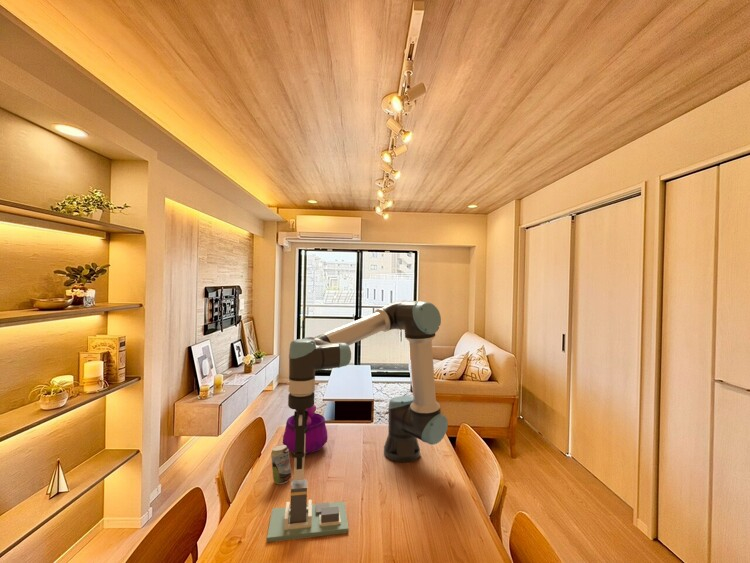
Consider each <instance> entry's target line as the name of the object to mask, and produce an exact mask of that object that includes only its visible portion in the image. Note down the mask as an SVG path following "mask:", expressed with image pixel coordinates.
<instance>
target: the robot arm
mask: <svg viewBox="0 0 750 563" xmlns="http://www.w3.org/2000/svg"><path fill="white" fill-rule="evenodd" d="M441 324H442V317H441V313H440V311H439V308H438V307H437V306H436V305H435V304H433V303H431V302H428V301H423V300H420V301H419V300H397V301H396V302H392V303H390V304H387V305H385V306H383V307H378V309H376V310H375V311H374V312H373V313H372V314H369V315H366V316H365V317H364V316H363V317H362V318H359V319H356V320H354V321H352V322H350V323H346V324H344V325H342V326H339V327H336V328H335V329H332V330H329V331H327V332H325V333H323V334H320V335H317V336H314V337H312V336H308V337H303V338H298V339H294V340H292V341H291V342H290V344H289V351H288V381H286V385H287V386H288V396H287V397H288V399H287V403H288V405H287V406H288V408H289V409H291V410H294V413H293V415H294V421H295V423H294V430H295V431H296V432H295V453H293V454H291V458H294V460H293V480H304V479H305V456H306V453H305V438H306V434H305V433H308V429H307V420H308V411H306V409H309V408H311V407H313V406H314V405H315V390H316V371H321V370H322V371H323V370H330V369H337V368H338V369H339V368H341V367H347V366H348V365H349V364H350V363H351V359H352V351H351V347H350V346H351V345H353V344H355V343H358V342H360V341H363V340H364V339H367V338H369V337H371V336H374V335H375V334H376V335H377V334H378V333H380V332H389V331H390V330H404V338H405V339H406V340H407V341H408V343H409V355H410V369H411V383H412V394H413V396H412V395H411V396H409V395H404V396H403V395H401V396H395V397H392V398H391V399H390V400H389V402H388V432H387V437H386V438H385V439H386V440H385V443H384V444H383V445H384V446H383V454H384V456H385V457H386V458H387V459H389V460H391V461H393V462H397V463H411V462H414V461H416V460H418V459H419V458H420V456H421V448H420V444H419V441H418V440H420V441H422V442H423V443H424V444H425V443H427V444H428V445H432V446H433V445H437V444H439V443H440V442H441V441H442V440H443V438H445V435H446V434H447V431H448V427H449V426H448V425H449V421H448V418H447V417H446V416H445V415H444V414H443V413H442V412H441V410H442V409H441V404H440V402H438V401H437V397H436V385H435V371H434V368H435V366H434V356H433V355H434V352H433V340H434V339H435V337H436V333H437V332H438V331H439V330H440V326H441ZM296 410H297V411H296Z"/></svg>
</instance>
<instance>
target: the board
mask: <svg viewBox="0 0 750 563" xmlns="http://www.w3.org/2000/svg"><path fill="white" fill-rule="evenodd" d="M307 500H308V501H307V511H306V522H303V523H293V524H290V504H291V501H286V503H285V506H284V507H275V508H271V515H270V518H269V523H268V524H269V526H268V530H267V537H266V543H273V542H281V541H288V540H289V541H290V540H297V539H298V540H299V539H307V538H315V537H323V536H331V535H332V536H333V535H340V534H349V529H350V528H349V523H348V517H347V511H346V502H345V501H335V502H328V501H327V502H321V503H319V502H318V503H312V502H313V499H307Z"/></svg>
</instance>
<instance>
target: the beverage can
mask: <svg viewBox="0 0 750 563" xmlns="http://www.w3.org/2000/svg"><path fill="white" fill-rule="evenodd" d="M271 450H272V451H271V454H270V456H271V458H270V459H271V468H272V477H273V478H272V479H273V483H275V484H277V485H283V484H284V485H285V484H286V483H288V482H289V481H290V480H291V478H292V468H291V460H290V451H289V449H288V448H287V446H286V445H283V444H279V445H276V446H274V447H273V448H272V449H271Z"/></svg>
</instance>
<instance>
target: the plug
mask: <svg viewBox="0 0 750 563" xmlns="http://www.w3.org/2000/svg"><path fill="white" fill-rule="evenodd" d="M307 498H308V478H304V480H294V479H293V480H291V486H290V524H293V523H303V522H306V511H307V505H308V501H307V500H308V499H307Z"/></svg>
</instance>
